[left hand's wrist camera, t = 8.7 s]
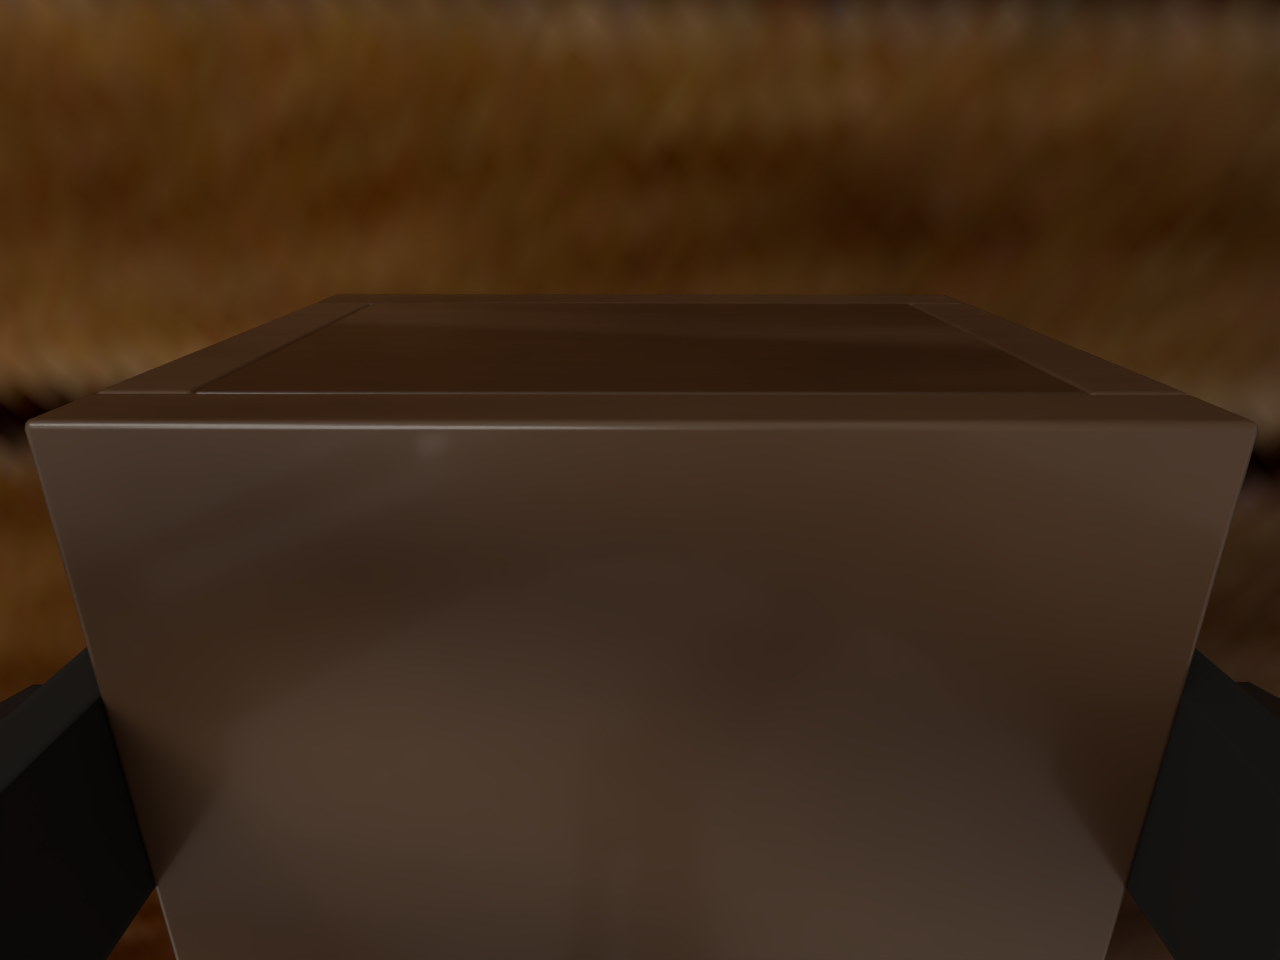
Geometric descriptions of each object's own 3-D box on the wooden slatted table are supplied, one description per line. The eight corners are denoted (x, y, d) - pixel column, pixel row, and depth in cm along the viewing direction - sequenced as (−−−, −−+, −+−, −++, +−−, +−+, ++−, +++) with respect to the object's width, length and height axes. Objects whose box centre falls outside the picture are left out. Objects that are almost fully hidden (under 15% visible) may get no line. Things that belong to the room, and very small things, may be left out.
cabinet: (848, 1024, 22) (958, 1475, 15) (430, 1023, 22) (320, 1474, 15) (948, 295, 15) (1267, 422, 7) (334, 294, 15) (17, 420, 7)
